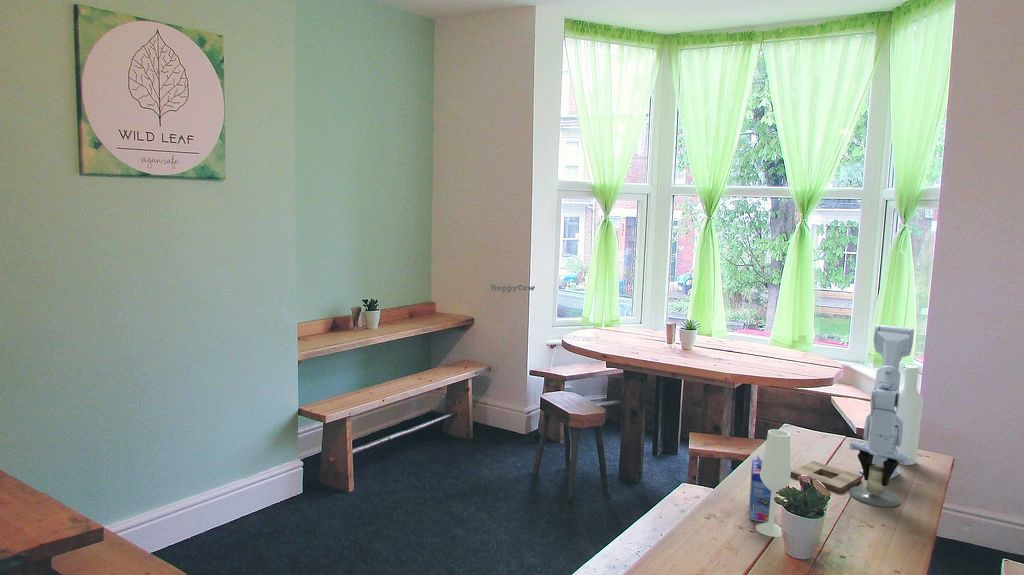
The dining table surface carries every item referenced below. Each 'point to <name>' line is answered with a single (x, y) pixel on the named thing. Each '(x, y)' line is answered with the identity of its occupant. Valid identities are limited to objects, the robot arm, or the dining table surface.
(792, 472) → the socket block
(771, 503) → the champagne flute
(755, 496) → the ink cartridge box
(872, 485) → the small jar
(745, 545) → the dining table surface
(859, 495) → the disc
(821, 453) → the dining table surface
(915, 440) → the bottle
